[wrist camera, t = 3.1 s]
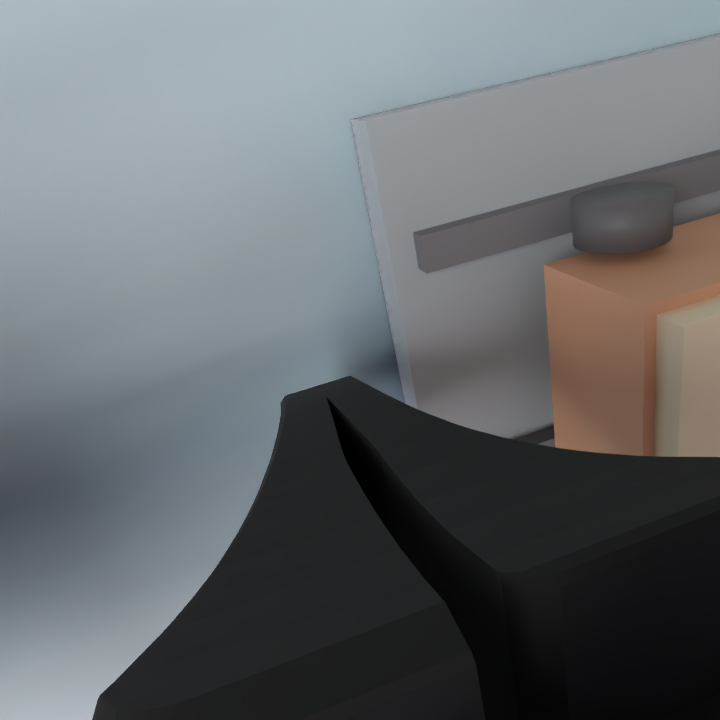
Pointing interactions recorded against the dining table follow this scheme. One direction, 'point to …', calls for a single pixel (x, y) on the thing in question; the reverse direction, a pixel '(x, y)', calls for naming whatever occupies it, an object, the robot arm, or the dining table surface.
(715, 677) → the robot arm
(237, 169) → the dining table surface
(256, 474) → the dining table surface
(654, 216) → the cart
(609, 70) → the dock
